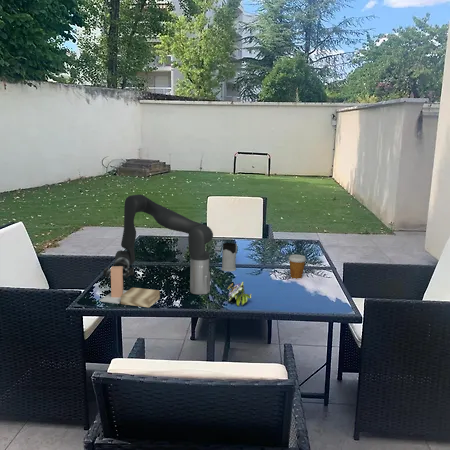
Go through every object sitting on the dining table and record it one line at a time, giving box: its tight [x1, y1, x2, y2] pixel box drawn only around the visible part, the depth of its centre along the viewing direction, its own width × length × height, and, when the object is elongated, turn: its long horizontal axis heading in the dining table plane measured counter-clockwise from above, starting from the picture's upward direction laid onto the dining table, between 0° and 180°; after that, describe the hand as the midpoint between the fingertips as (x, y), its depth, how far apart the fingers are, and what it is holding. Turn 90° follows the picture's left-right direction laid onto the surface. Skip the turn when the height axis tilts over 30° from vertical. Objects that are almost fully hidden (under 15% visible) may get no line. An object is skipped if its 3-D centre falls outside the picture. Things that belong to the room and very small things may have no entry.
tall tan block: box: [110, 265, 124, 297], centre depth 214 cm, size 5×4×14 cm
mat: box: [98, 289, 128, 305], centre depth 216 cm, size 10×16×1 cm, turn 165°
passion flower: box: [226, 281, 252, 307], centre depth 212 cm, size 11×11×12 cm
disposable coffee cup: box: [288, 254, 307, 279], centre depth 251 cm, size 10×10×12 cm
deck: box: [120, 287, 161, 308], centre depth 210 cm, size 14×12×4 cm
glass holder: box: [221, 242, 238, 272], centre depth 266 cm, size 9×14×15 cm, turn 152°
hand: (117, 275), depth 215 cm, fingers open, 8 cm apart
